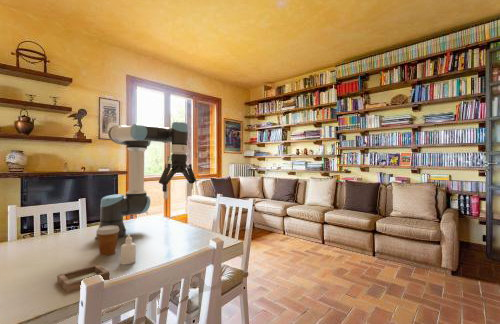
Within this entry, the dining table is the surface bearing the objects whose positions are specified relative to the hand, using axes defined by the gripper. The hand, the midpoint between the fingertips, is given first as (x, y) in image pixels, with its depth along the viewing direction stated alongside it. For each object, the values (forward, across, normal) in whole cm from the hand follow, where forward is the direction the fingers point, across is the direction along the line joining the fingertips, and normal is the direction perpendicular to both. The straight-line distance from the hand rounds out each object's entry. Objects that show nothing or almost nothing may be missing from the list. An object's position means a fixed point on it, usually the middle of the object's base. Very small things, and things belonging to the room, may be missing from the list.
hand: (178, 197), depth 122 cm
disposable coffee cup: (+27, -22, +22) cm, 41 cm away
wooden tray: (+26, -40, +1) cm, 48 cm away
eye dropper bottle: (+27, -22, +4) cm, 35 cm away
